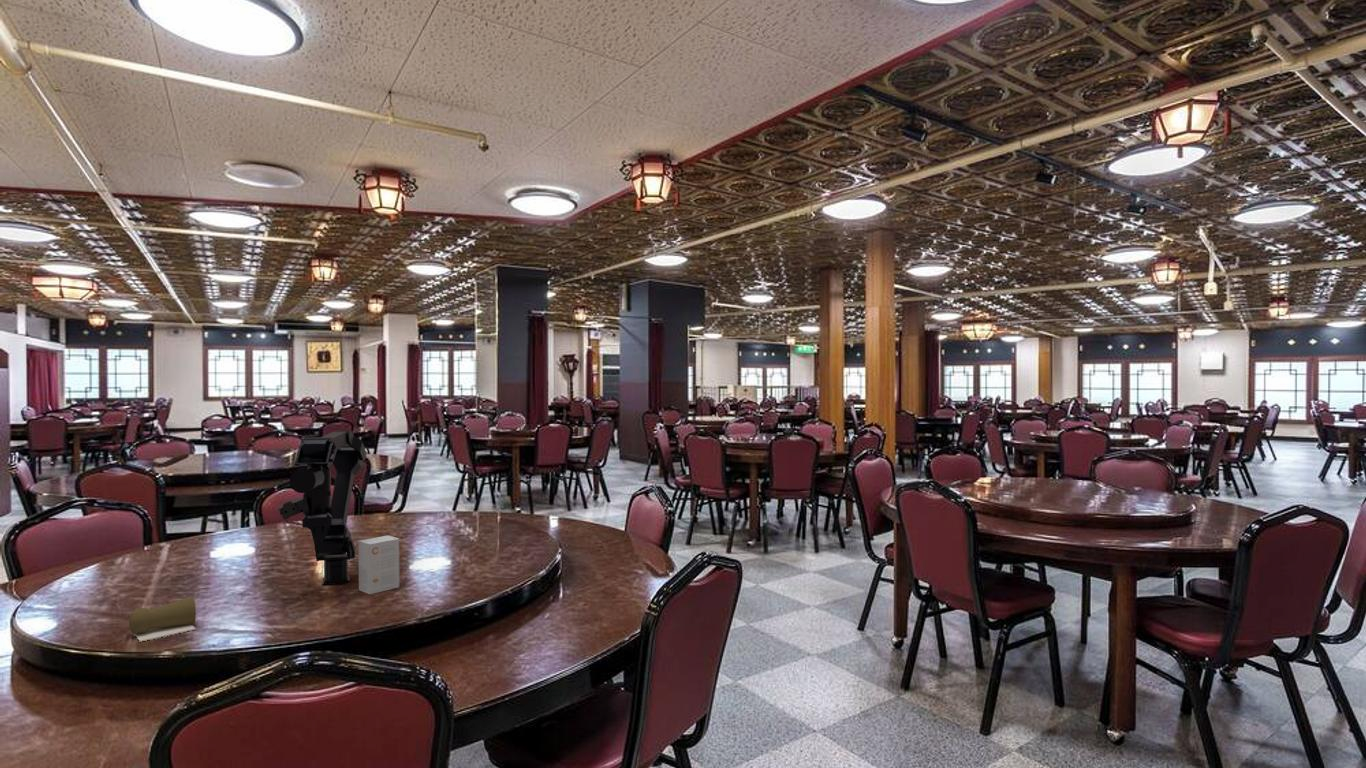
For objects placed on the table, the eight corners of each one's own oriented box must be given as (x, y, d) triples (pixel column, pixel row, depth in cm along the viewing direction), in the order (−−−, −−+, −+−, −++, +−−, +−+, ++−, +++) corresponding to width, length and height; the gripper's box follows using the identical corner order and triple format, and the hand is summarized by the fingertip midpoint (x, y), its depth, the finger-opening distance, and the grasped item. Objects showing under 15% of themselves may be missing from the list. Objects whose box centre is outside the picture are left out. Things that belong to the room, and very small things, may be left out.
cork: (194, 593, 148) (130, 605, 140) (196, 620, 146) (131, 634, 138) (189, 600, 152) (127, 612, 144) (192, 627, 150) (128, 640, 142)
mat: (184, 619, 152) (184, 617, 152) (195, 630, 145) (195, 628, 145) (131, 630, 145) (131, 629, 145) (139, 642, 138) (139, 640, 138)
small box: (388, 583, 179) (388, 534, 180) (400, 587, 175) (399, 538, 175) (357, 590, 173) (357, 540, 173) (369, 595, 169) (369, 543, 169)
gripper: (283, 484, 173) (283, 545, 172) (277, 494, 156) (277, 561, 156) (331, 481, 178) (331, 540, 178) (331, 491, 161) (331, 555, 161)
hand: (317, 549), depth 168 cm, fingers closed
